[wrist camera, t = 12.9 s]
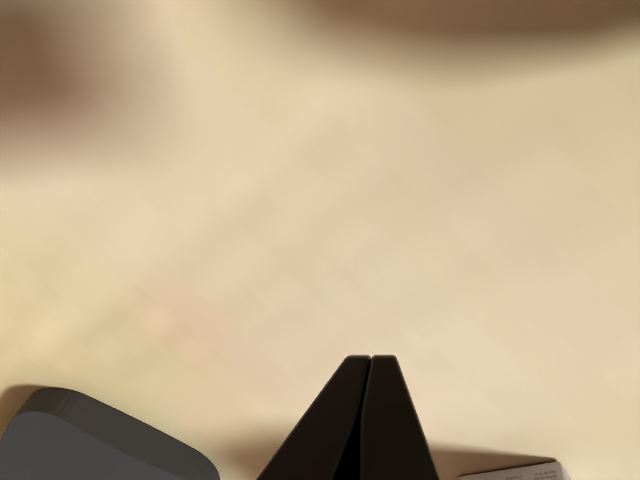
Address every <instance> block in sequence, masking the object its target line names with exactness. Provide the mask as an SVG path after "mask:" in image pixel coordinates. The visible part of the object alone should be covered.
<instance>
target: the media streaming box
mask: <svg viewBox="0 0 640 480" xmlns="http://www.w3.org/2000/svg"><path fill="white" fill-rule="evenodd" d="M0 480H220V477H219V473H218V471H217V469H216V468H215V466H214V465H213V464H212V463H211V462H210V461H209V460H208V459H207V458H206V457H205V456H204V455H202V454H201V453H200V452H198V451H196V450H194V449H193V448H191V447H189V446H187V445H185V444H183V443H181V442H180V441H178V440H176V439H174V438H172V437H170V436H168V435H166V434H164V433H162V432H160V431H158V430H157V429H155V428H153V427H151V426H149V425H147V424H145V423H143V422H141V421H139V420H137V419H135V418H133V417H130V416H128V415H126V414H124V413H122V412H120V411H118V410H116V409H114V408H112V407H110V406H108V405H105V404H103V403H101V402H99V401H97V400H95V399H92V398H90V397H88V396H86V395H84V394H81V393H78V392H75V391H72V390H67V389H61V388H46V389H41V390H38V391H36V392H34V393H33V394H32V395H31V396H30V397H29V399H28V400H27V401H26V402H25V404H24V405H23V406H22V407H21V409H20V410H19V411H18V412H17V414H16V415H15V416H14V417H13V419H12V420H11V422H10V423H9V425H8V427H7V429H6V430H5V432H4V434H3V436H2V438H1V440H0Z"/></svg>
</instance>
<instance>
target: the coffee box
mask: <svg viewBox="0 0 640 480" xmlns="http://www.w3.org/2000/svg"><path fill="white" fill-rule="evenodd" d="M458 480H570V478H569V476H568V475H567V473H566V471H565V469H564V468H563V466H562V464H561V463H560V462H551V463H544V464H539V465H533V466H526V467H519V468H513V469H507V470H499V471H493V472H487V473H480V474H473V475H466V476H461V477H459V478H458Z"/></svg>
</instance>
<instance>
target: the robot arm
mask: <svg viewBox="0 0 640 480" xmlns="http://www.w3.org/2000/svg"><path fill="white" fill-rule="evenodd" d="M256 480H441V479H440V476H439V474H438V471H437V468H436V465H435V463H434V460H433V457H432V454H431V452H430V449H429V446H428V443H427V440H426V438H425V435H424V432H423V429H422V427H421V424H420V421H419V418H418V416H417V413H416V410H415V407H414V404H413V402H412V399H411V396H410V393H409V391H408V388H407V385H406V382H405V380H404V377H403V374H402V371H401V368H400V366H399V363H398V360H397V358H396V357H395V356H394V355H374V356H373V357H372V358H371V357H370V356H368V355H349V356H347V357H346V358H345V359H344V361H343V362H342V363H341V365H340V366H339V367H338V369H337V370H336V371H335V373H334V374H333V376H332V377H331V378H330V380H329V381H328V382H327V384H326V385H325V386H324V388H323V389H322V391H321V392H320V393H319V395H318V396H317V397H316V399H315V400H314V401H313V403H312V404H311V405H310V407H309V408H308V410H307V411H306V412H305V414H304V415H303V416H302V418H301V419H300V420H299V422H298V423H297V425H296V426H295V427H294V429H293V430H292V431H291V433H290V434H289V435H288V437H287V438H286V440H285V441H284V442H283V444H282V445H281V446H280V448H279V449H278V450H277V452H276V453H275V455H274V456H273V457H272V459H271V460H270V461H269V463H268V464H267V465H266V467H265V468H264V469H263V471H262V472H261V474H260V475H259V476H258V478H257V479H256Z"/></svg>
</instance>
